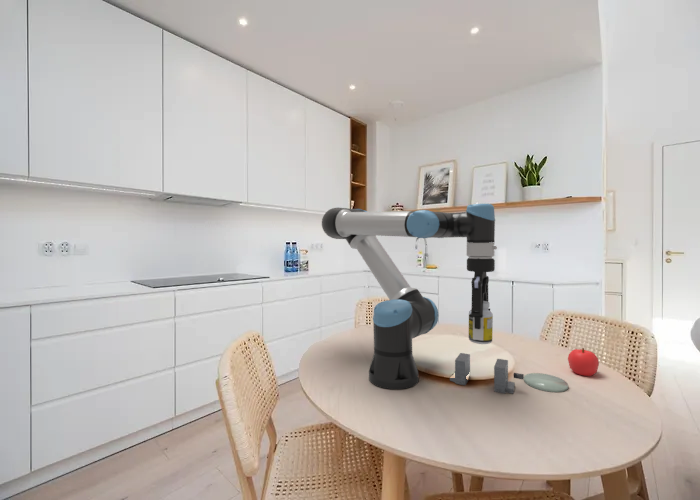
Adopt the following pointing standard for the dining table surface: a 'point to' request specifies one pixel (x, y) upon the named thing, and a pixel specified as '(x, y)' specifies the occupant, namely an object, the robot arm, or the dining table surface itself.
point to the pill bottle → (486, 325)
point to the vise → (499, 374)
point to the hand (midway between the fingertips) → (480, 336)
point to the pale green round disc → (546, 382)
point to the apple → (583, 362)
